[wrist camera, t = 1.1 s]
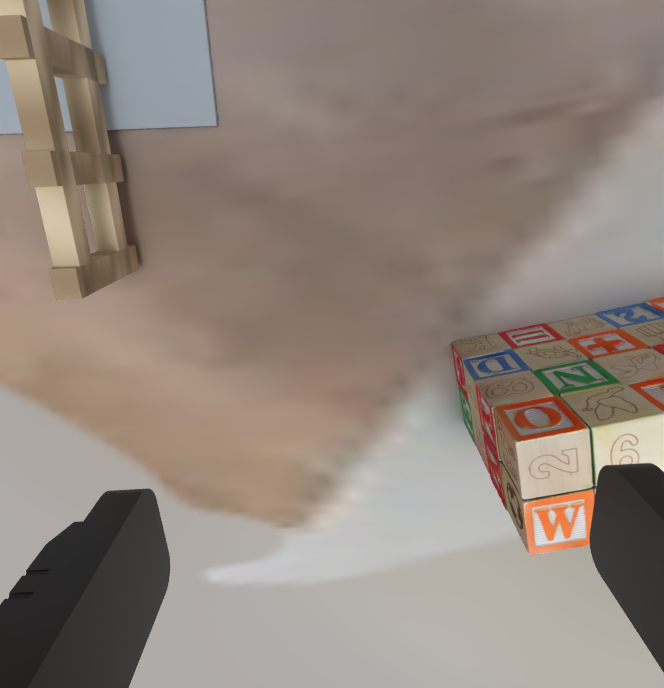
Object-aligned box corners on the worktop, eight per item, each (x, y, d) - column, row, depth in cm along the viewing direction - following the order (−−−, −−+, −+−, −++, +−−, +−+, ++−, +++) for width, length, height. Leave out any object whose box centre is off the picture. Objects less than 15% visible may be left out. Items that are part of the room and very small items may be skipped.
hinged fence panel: (57, -61, 23) (-51, -151, 17) (82, -62, 23) (-17, -152, 17) (119, 269, 29) (56, 299, 22) (139, 268, 29) (82, 298, 22)
